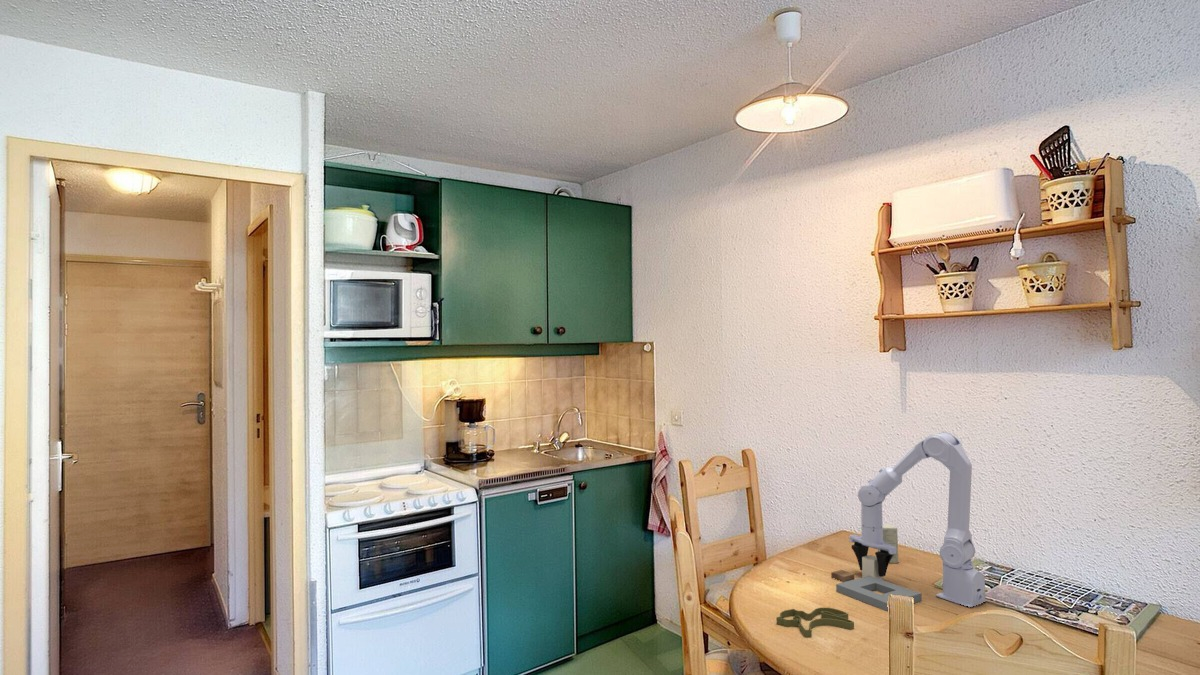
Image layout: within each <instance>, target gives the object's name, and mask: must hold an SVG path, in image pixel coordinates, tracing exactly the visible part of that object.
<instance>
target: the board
mask: <svg viewBox="0 0 1200 675" xmlns="http://www.w3.org/2000/svg"><path fill="white" fill-rule="evenodd" d="M835 586H836V587H835V589H836V590H835V591H836V593H840V594H841V595H845V596H848V597H849V598H853V599H855V600H858V601H860V602H863V603H865V604H868V605H871V606H873V607H875V608H879V609H880V610H883V611H886V612H889V611H888V607H887V601H888V596H889V595H890V594H893V595H902V596H908V597H913V598H914V602H915V603H914V604H916V603H919V602H920V603H921V602H922V592H919V591H916V590H913V589H910V588H907V587H905V586H901V585H898V584H895V583H893V582H889V581H887V580H884V579H882V580H881V579H878V578H875V577H872V576H866V577H859V578H854V580H850V581H846V582H839V583H836V584H835ZM874 591H877V592H880V593H877V592H874Z"/></svg>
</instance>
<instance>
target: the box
mask: <svg viewBox="0 0 1200 675" xmlns="http://www.w3.org/2000/svg"><path fill="white" fill-rule="evenodd" d="M882 526H883V541H884V542H886V543H888V544H890V545H892V546H895V547H896V554H894V555H893V557H892V558H891V560H890V562H889V564H899V544H898V541H899V540H898V527H896V526H895V525H893V524H882ZM879 551H880V550H878V549H877V552H879Z"/></svg>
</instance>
